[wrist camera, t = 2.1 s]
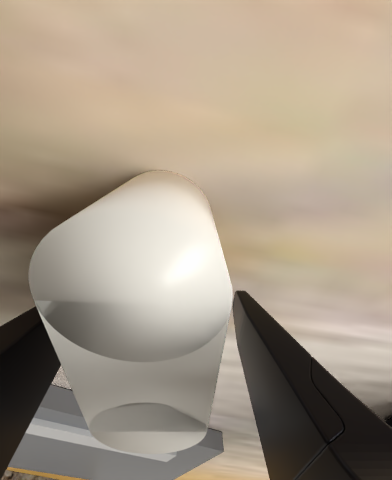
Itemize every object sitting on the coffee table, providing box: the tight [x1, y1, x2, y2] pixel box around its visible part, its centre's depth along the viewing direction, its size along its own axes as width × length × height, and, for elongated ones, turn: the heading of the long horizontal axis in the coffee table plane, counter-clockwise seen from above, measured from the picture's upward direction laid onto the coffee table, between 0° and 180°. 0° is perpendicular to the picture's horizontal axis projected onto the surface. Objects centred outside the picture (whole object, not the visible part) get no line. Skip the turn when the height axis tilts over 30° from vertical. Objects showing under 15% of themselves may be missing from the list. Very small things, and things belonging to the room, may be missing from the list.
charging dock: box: [8, 385, 224, 480], centre depth 16 cm, size 19×12×2 cm, turn 57°
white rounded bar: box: [29, 170, 233, 454], centre depth 8 cm, size 4×12×4 cm, turn 176°
